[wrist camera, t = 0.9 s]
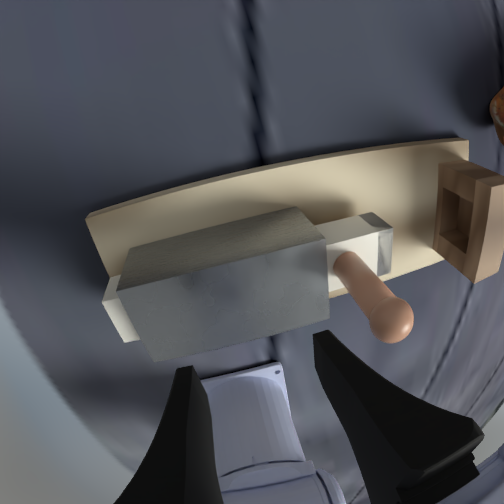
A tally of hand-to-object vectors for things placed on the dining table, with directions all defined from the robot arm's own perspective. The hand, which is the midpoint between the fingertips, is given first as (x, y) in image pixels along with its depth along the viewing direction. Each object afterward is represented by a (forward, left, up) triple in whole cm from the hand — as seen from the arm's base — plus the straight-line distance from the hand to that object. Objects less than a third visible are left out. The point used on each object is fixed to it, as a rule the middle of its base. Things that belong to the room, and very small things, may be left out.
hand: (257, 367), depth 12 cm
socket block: (0, -17, -9) cm, 19 cm away
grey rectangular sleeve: (0, +1, -8) cm, 8 cm away
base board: (0, -6, -9) cm, 11 cm away
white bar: (0, -1, -7) cm, 7 cm away
